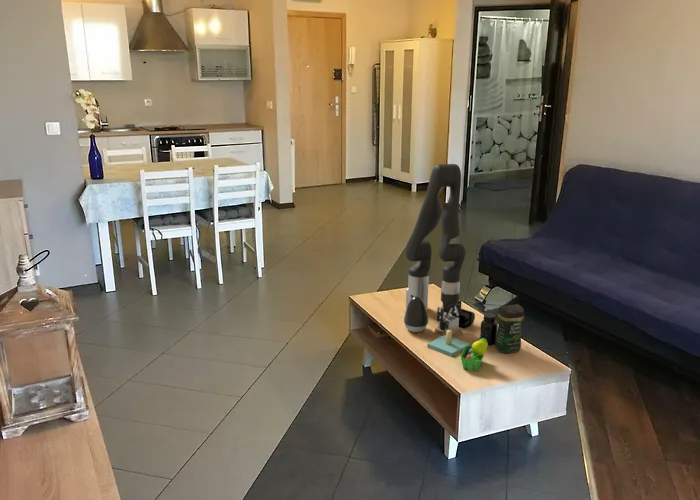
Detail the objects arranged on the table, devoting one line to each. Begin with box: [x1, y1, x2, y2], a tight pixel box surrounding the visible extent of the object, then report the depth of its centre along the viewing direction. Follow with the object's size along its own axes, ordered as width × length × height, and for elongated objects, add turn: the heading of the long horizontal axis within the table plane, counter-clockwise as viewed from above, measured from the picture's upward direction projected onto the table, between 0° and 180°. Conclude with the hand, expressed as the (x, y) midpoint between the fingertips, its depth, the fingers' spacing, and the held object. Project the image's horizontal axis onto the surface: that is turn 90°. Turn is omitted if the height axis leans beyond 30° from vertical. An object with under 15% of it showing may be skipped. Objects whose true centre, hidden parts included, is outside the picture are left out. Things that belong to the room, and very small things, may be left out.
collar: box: [437, 314, 460, 332], centre depth 244 cm, size 6×6×5 cm
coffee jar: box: [494, 303, 525, 354], centre depth 228 cm, size 10×8×19 cm
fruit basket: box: [460, 338, 488, 372], centre depth 216 cm, size 11×9×11 cm
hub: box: [426, 330, 471, 357], centre depth 232 cm, size 12×12×7 cm
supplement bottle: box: [479, 312, 499, 347], centre depth 235 cm, size 7×7×12 cm
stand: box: [434, 317, 463, 338], centre depth 245 cm, size 8×8×7 cm
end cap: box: [450, 308, 476, 330], centre depth 254 cm, size 10×7×7 cm
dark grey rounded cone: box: [403, 295, 429, 333], centre depth 247 cm, size 10×10×15 cm
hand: (448, 326), depth 245 cm, fingers open, 8 cm apart
